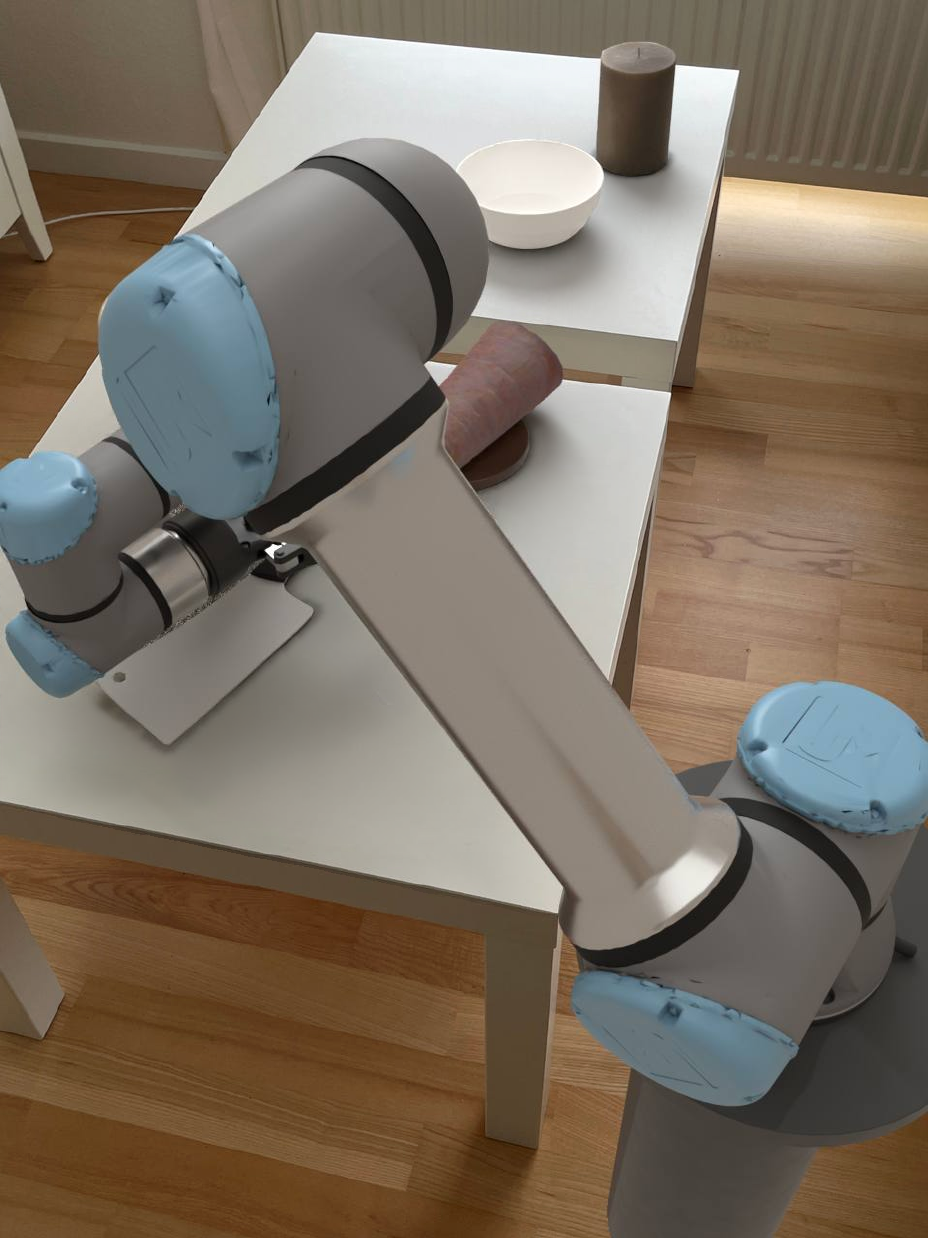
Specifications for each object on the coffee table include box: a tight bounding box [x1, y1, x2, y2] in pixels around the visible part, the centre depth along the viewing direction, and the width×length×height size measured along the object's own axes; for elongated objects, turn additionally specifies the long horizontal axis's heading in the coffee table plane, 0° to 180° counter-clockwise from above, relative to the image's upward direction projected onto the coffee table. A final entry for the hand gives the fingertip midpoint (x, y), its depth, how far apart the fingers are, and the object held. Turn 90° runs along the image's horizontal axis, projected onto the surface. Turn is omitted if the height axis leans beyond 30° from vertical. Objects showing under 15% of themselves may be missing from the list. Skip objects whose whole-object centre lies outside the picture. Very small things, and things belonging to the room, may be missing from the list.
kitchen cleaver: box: [95, 559, 314, 746], centre depth 114 cm, size 31×2×10 cm
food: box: [438, 321, 564, 469], centre depth 124 cm, size 21×9×9 cm, turn 148°
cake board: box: [460, 417, 530, 491], centre depth 129 cm, size 14×14×1 cm
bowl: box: [455, 139, 605, 250], centre depth 154 cm, size 18×18×7 cm
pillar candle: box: [595, 41, 677, 177], centre depth 163 cm, size 10×10×15 cm
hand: (367, 440), depth 115 cm, fingers open, 13 cm apart
